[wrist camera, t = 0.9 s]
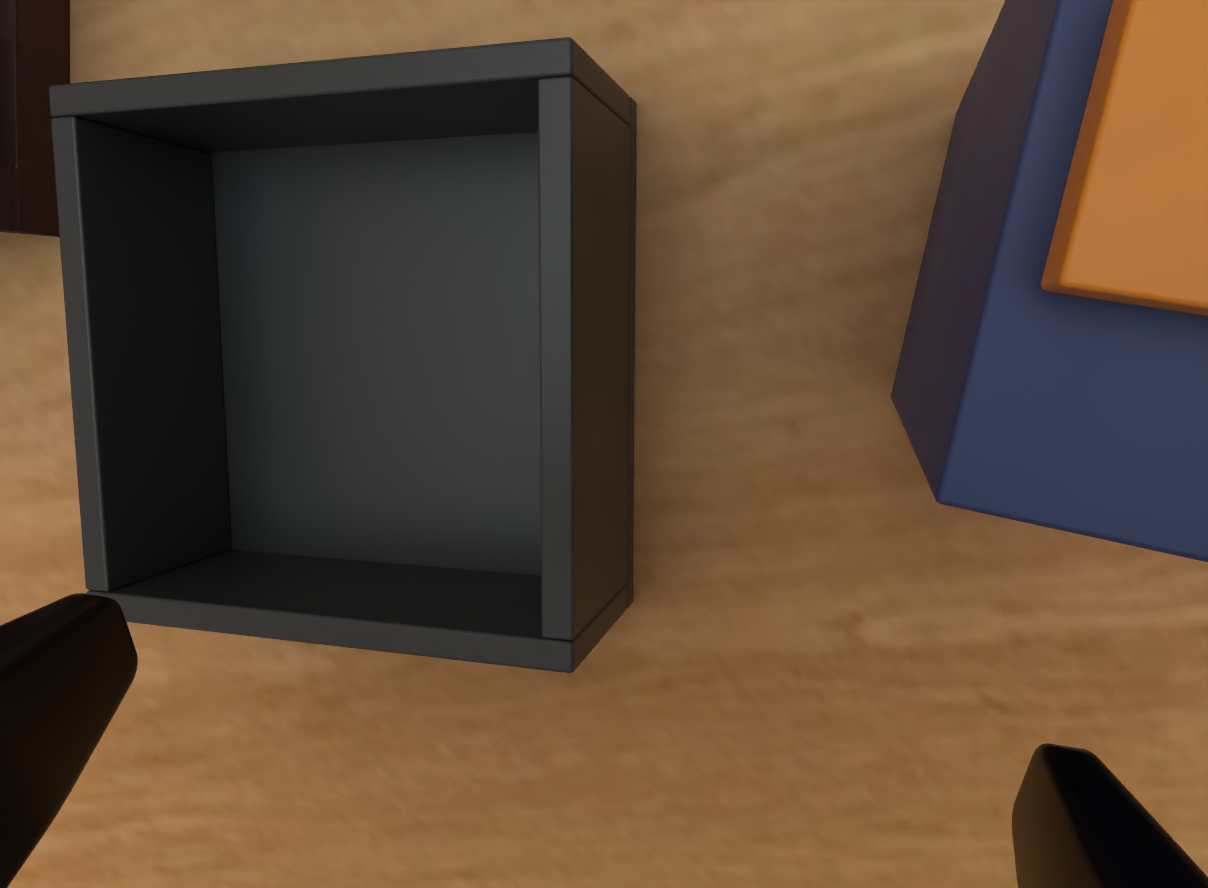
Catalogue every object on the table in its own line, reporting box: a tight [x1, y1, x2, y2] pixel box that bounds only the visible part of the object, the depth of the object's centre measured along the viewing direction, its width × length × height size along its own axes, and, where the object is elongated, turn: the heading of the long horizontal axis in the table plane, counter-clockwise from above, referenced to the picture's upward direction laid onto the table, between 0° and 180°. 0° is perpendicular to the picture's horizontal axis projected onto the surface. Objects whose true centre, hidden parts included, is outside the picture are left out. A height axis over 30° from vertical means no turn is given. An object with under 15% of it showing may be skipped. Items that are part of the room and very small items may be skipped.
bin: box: [49, 37, 636, 673], centre depth 21 cm, size 12×12×5 cm
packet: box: [891, 0, 1208, 562], centre depth 13 cm, size 6×4×14 cm
